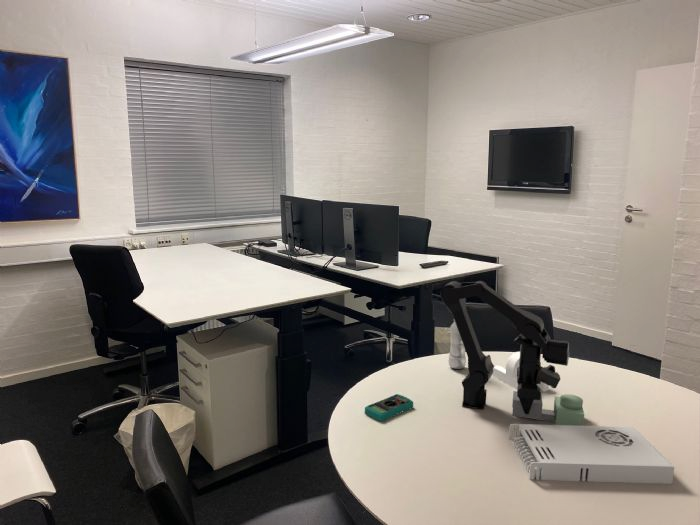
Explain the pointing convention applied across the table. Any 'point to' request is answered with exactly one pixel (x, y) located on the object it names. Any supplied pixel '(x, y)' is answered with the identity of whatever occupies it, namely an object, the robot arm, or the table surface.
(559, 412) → the green domed block
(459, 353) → the plastic bottle
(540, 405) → the chute
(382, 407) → the digital multimeter
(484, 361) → the robot arm
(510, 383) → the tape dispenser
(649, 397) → the table surface
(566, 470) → the power supply unit
